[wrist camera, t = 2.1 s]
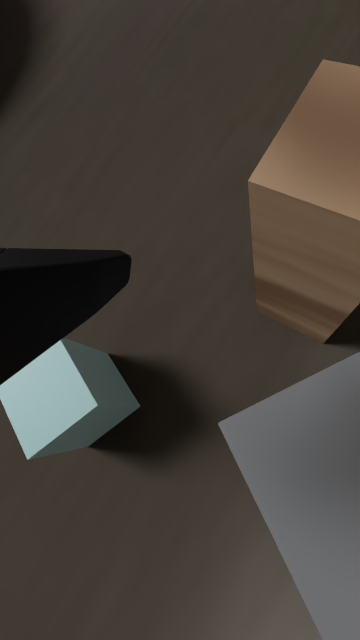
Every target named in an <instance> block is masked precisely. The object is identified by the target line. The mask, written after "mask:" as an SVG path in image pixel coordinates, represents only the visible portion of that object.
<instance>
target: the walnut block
mask: <svg viewBox="0 0 360 640" xmlns="http://www.w3.org/2000/svg"><path fill="white" fill-rule="evenodd" d="M248 188H249V202H250V217H251V231H252V246H253V260H254V275H255V289H256V304H257V311H259V312H261V313H263V314H265V315H267V316H269V317H271V318H273V319H275V320H277V321H279V322H281V323H283V324H285V325H287V326H289V327H291V328H293V329H295V330H297V331H299V332H301V333H303V334H305V335H307V336H309V337H311V338H313V339H315V340H317V341H319V342H321V343H324V342H325V341H326V340H327V339H328V338H329V337H330V336H331V334H332V333H333V332H334V331H335V330H336V329H337V328H338V327H339V326H340V325H341V323H342V322H343V321H344V320H345V319H346V318H347V317H348V316H349V315H350V313H351V312H352V311H353V310H354V309H355V308H356V307H357V306H358V305H359V303H360V67H359V66H354V65H349V64H344V63H339V62H334V61H328V60H322V62H321V64H320V65H319V67H318V68H317V70H316V72H315V73H314V75H313V76H312V78H311V80H310V81H309V83H308V85H307V86H306V88H305V89H304V91H303V93H302V94H301V96H300V98H299V99H298V101H297V102H296V104H295V106H294V107H293V109H292V110H291V112H290V114H289V115H288V117H287V119H286V120H285V122H284V123H283V125H282V127H281V128H280V130H279V131H278V133H277V135H276V136H275V138H274V140H273V141H272V143H271V144H270V146H269V148H268V149H267V151H266V153H265V154H264V156H263V157H262V159H261V161H260V162H259V164H258V165H257V167H256V169H255V170H254V172H253V174H252V175H251V177H250V178H249V180H248Z"/></svg>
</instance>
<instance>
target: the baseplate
mask: <svg viewBox="0 0 360 640" xmlns="http://www.w3.org/2000/svg"><path fill="white" fill-rule="evenodd" d="M218 425H219V427H220V429H221V431H222V433H223V435H224V437H225V439H226V441H227V443H228V445H229V447H230V449H231V452H232V454H233V456H234V458H235V460H236V462H237V464H238V466H239V468H240V470H241V472H242V474H243V476H244V478H245V480H246V483H247V485H248V487H249V489H250V491H251V493H252V495H253V497H254V499H255V501H256V503H257V505H258V507H259V509H260V511H261V513H262V516H263V518H264V520H265V522H266V524H267V526H268V528H269V530H270V532H271V534H272V536H273V538H274V540H275V542H276V544H277V547H278V549H279V551H280V553H281V555H282V557H283V559H284V561H285V563H286V565H287V567H288V569H289V571H290V573H291V575H292V577H293V580H294V582H295V584H296V586H297V588H298V590H299V592H300V594H301V596H302V598H303V600H304V602H305V604H306V606H307V608H308V611H309V613H310V615H311V617H312V619H313V621H314V623H315V625H316V627H317V629H318V631H319V633H320V635H321V637H322V639H323V640H360V352H358V353H356V354H354V355H352V356H350V357H348V358H346V359H344V360H342V361H340V362H338V363H336V364H334V365H332V366H330V367H328V368H326V369H324V370H322V371H320V372H318V373H316V374H314V375H312V376H310V377H308V378H306V379H304V380H302V381H300V382H298V383H296V384H294V385H292V386H290V387H288V388H286V389H284V390H282V391H280V392H278V393H276V394H274V395H273V396H271V397H269V398H267V399H265V400H263V401H261V402H259V403H257V404H255V405H253V406H251V407H249V408H247V409H245V410H243V411H241V412H239V413H237V414H235V415H233V416H231V417H229V418H227V419H225V420H223V421H221V422H219V423H218Z"/></svg>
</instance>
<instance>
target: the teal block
mask: <svg viewBox="0 0 360 640" xmlns="http://www.w3.org/2000/svg"><path fill="white" fill-rule="evenodd" d="M0 399H1V402H2V404H3V406H4V408H5V411H6V413H7V415H8V417H9V419H10V422H11V424H12V426H13V428H14V431H15V433H16V435H17V437H18V440H19V442H20V444H21V446H22V448H23V451H24V453H25V455H26V457H27V460H29V459H34V458H38V457H43V456H48V455H52V454H57V453H62V452H66V451H71V450H76V449H80V448H85V447H88V446H90V445H91V444H92V443H94V442H95V441H96V440H97V439H99V438H100V437H101V436H103V435H104V434H105V433H107V432H108V431H109V430H110V429H112V428H113V427H114V426H116V425H117V424H118V423H120V422H121V421H122V420H123V419H125V418H126V417H127V416H129V415H130V414H131V413H132V412H134V411H135V410H136V409H138V408H139V407H140V405H139V403H138V401H137V400H136V398H135V397H134V395H133V393H132V392H131V390H130V389H129V387H128V385H127V384H126V382H125V381H124V379H123V377H122V376H121V374H120V373H119V371H118V369H117V368H116V366H115V365H114V363H113V361H112V360H111V358H110V357H109V355H108V353H105V352H102V351H99V350H96V349H94V348H91V347H88V346H85V345H82V344H80V343H77V342H74V341H71V340H68V339H66V338H62V339H61V340H60V341H58V342H57V343H56V344H55V345H53V346H52V347H51V348H49V349H48V350H47V351H45V352H44V353H43V354H41V355H40V356H39V357H37V358H36V359H35V360H33V361H32V362H31V363H29V364H28V365H27V366H25V367H24V368H23V369H21V370H20V371H19V372H17V373H16V374H15V375H13V376H12V377H11V378H9V379H8V380H7V381H5V382H4V383H3V384H1V385H0Z"/></svg>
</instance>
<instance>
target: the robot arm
mask: <svg viewBox="0 0 360 640" xmlns="http://www.w3.org/2000/svg"><path fill="white" fill-rule="evenodd" d="M130 269H131V257H130V255H128V254H126V253H124V252H122V251H120V250H75V249H22V248H8V249H6V248H0V385H1V384H3V383H4V382H5V381H7V380H8V379H9V378H11V377H12V376H13V375H15V374H16V373H17V372H19V371H20V370H21V369H23V368H24V367H25V366H27V365H28V364H29V363H31V362H32V361H33V360H35V359H36V358H37V357H39V356H40V355H41V354H43V353H44V352H45V351H47V350H48V349H49V348H51V347H52V346H53V345H55V344H56V343H57V342H58V341H60V340H61V339H62V338H64V337H65V336H66V335H68V334H69V333H70V332H72V331H73V330H74V329H76V328H77V327H78V326H80V325H81V324H82V323H84V322H85V321H86V320H88V319H89V318H90V317H92V316H93V315H94V314H95V313H97V312H98V311H99V310H100V309H101V308H102V307H103V306H104V305H105V304H106V303H108V302H109V301H110V300H111V299H112V298H113V297H114V296H115V295H116V294H117V293H118V292H119V291H120V290H121V289H122V288H124V287H125V286H126V284H127V283H128V281H129V277H130Z"/></svg>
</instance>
